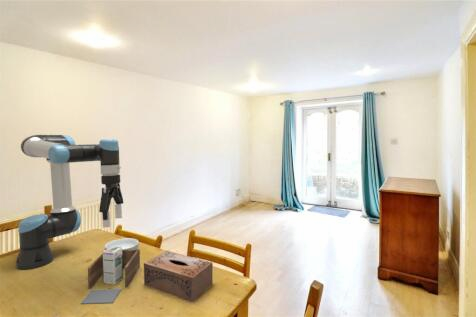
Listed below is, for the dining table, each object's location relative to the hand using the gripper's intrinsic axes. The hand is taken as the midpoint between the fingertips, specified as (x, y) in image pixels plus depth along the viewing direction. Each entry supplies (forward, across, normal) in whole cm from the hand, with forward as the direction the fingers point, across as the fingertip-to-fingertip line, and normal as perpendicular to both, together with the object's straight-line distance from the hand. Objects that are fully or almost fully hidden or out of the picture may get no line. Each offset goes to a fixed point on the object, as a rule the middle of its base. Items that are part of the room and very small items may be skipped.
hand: (113, 222), depth 117 cm
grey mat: (+26, -12, +1) cm, 29 cm away
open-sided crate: (+26, +2, +1) cm, 26 cm away
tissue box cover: (+28, -5, -28) cm, 40 cm away
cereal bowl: (+26, +24, +6) cm, 36 cm away
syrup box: (+26, 0, +1) cm, 26 cm away
